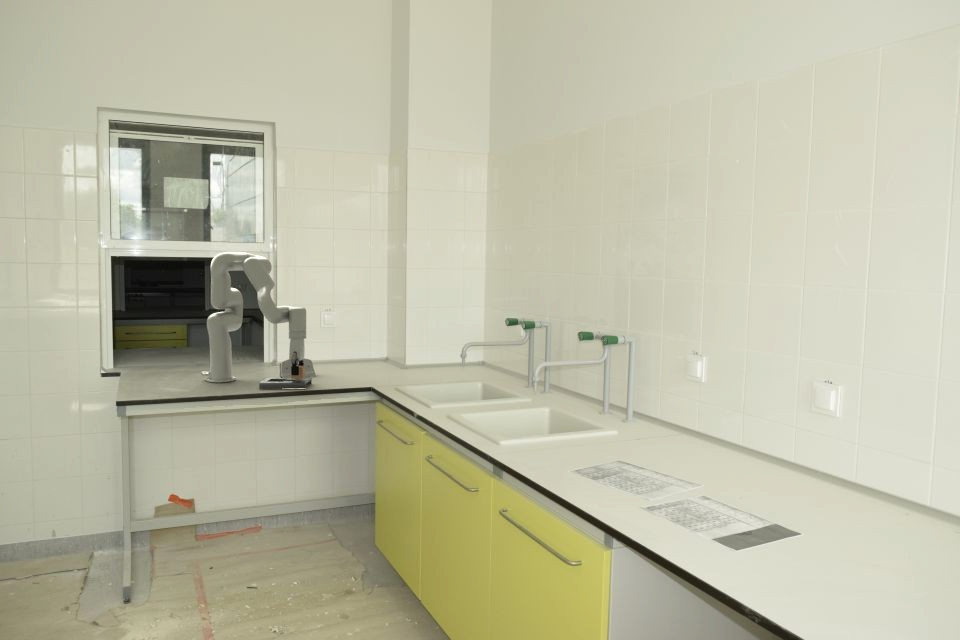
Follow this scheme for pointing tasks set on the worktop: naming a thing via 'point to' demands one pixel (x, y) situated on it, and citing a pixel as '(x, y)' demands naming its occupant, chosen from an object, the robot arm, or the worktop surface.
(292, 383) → the keyhole plate
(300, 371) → the t peg
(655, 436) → the worktop surface
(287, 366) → the grey arched block
